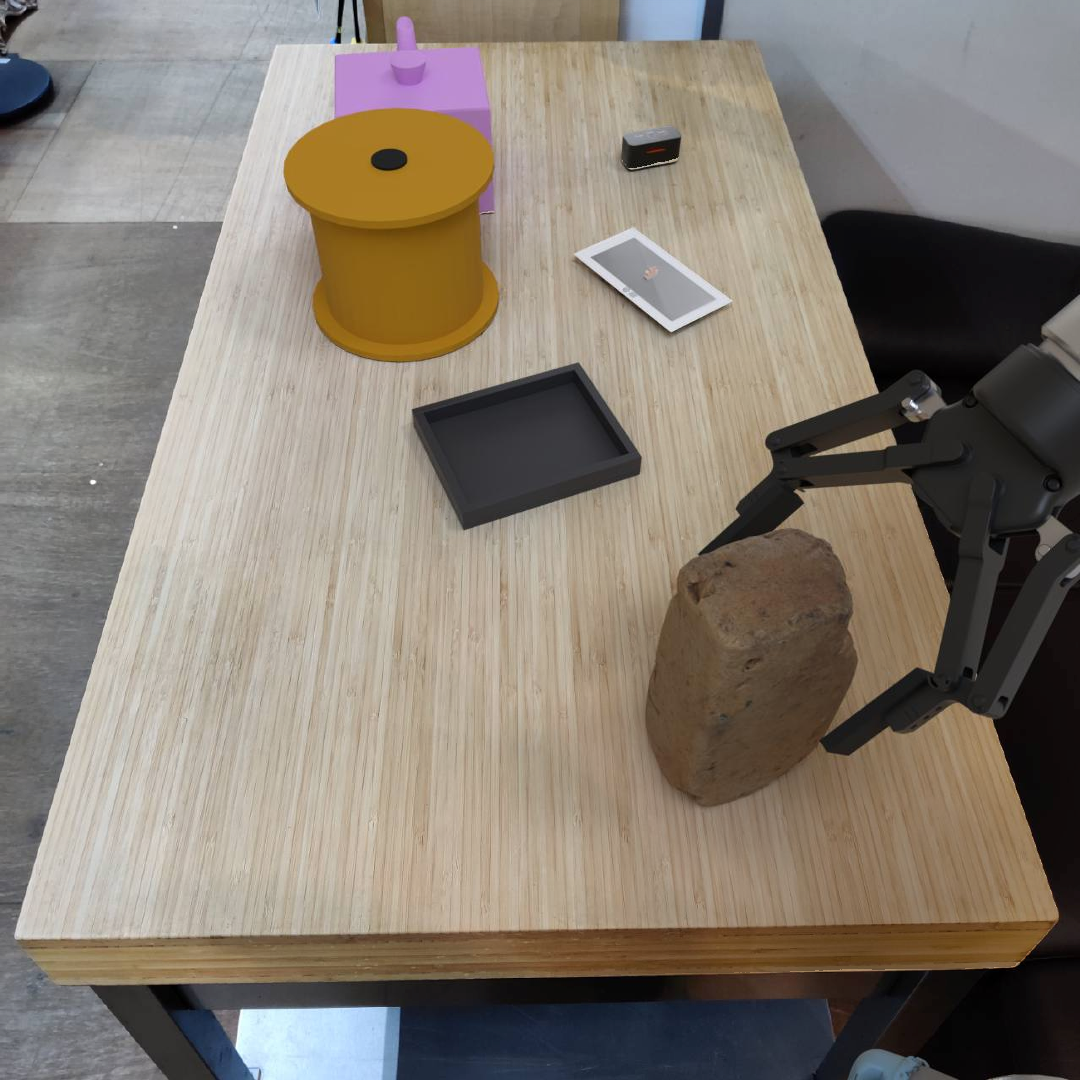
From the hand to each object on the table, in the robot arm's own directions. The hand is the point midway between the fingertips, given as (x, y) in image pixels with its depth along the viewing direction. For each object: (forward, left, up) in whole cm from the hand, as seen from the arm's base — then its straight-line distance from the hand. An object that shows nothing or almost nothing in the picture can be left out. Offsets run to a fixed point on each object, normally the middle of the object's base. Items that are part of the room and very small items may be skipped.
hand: (768, 649), depth 57 cm
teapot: (+74, -2, -12) cm, 75 cm away
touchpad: (+47, -17, -12) cm, 51 cm away
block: (0, +1, -12) cm, 12 cm away
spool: (+54, +6, -12) cm, 56 cm away
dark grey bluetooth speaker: (+68, -28, -12) cm, 75 cm away
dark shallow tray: (+31, +3, -12) cm, 33 cm away
